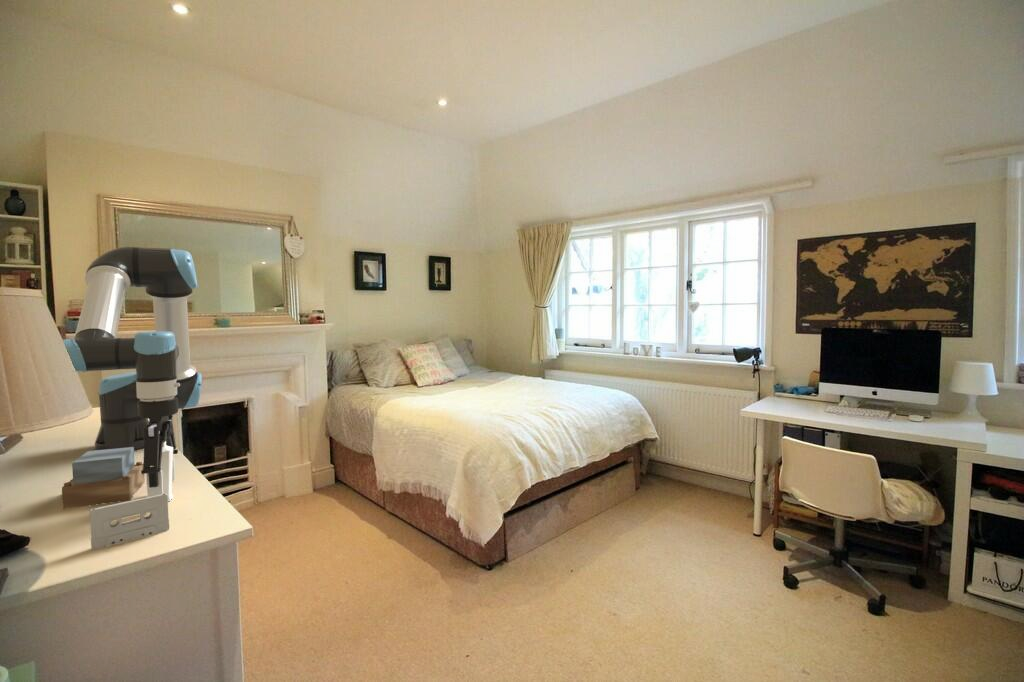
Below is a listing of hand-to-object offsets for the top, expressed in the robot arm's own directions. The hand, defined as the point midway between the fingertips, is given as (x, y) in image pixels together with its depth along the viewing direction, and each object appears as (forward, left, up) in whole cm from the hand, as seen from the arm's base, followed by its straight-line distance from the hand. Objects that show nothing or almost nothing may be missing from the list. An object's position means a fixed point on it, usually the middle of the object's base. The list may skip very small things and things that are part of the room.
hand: (162, 490), depth 110 cm
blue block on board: (-9, -13, -2) cm, 16 cm away
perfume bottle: (0, 0, -3) cm, 3 cm away
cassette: (+19, -1, -3) cm, 19 cm away
